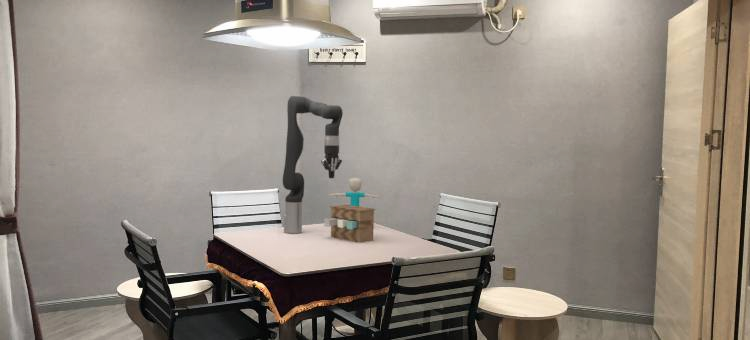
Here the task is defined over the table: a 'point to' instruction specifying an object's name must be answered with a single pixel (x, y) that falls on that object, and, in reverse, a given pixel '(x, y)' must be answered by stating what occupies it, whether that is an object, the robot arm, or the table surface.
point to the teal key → (352, 224)
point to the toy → (354, 186)
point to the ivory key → (342, 223)
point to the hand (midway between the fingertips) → (331, 178)
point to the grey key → (331, 222)
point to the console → (353, 214)
